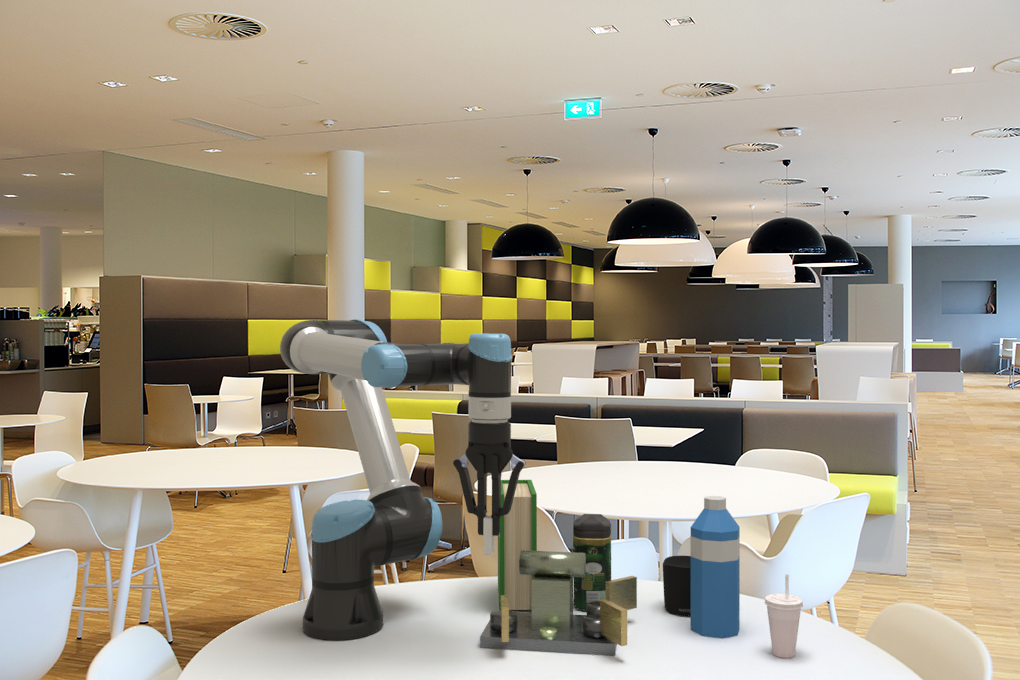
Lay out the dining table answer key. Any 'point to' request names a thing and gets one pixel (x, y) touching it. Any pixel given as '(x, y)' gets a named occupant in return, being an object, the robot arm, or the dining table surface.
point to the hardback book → (517, 544)
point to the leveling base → (546, 645)
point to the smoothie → (784, 621)
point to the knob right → (607, 623)
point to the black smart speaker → (677, 585)
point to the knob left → (503, 619)
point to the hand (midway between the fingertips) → (488, 553)
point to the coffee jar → (592, 558)
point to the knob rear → (617, 595)
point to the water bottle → (715, 571)
